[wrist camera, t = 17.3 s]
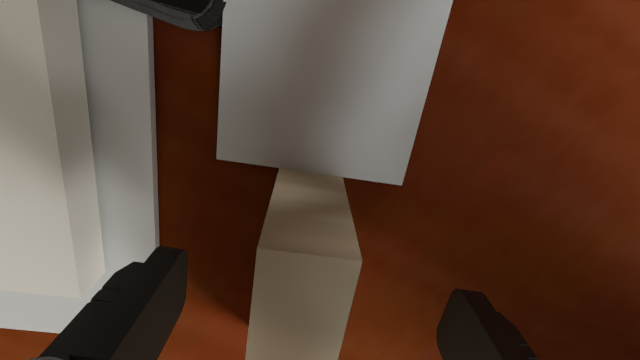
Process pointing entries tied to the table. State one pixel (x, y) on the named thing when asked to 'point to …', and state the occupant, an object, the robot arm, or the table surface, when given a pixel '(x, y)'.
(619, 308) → the table surface
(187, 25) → the phone
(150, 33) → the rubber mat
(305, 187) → the scraper
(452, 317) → the robot arm
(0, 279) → the tile
